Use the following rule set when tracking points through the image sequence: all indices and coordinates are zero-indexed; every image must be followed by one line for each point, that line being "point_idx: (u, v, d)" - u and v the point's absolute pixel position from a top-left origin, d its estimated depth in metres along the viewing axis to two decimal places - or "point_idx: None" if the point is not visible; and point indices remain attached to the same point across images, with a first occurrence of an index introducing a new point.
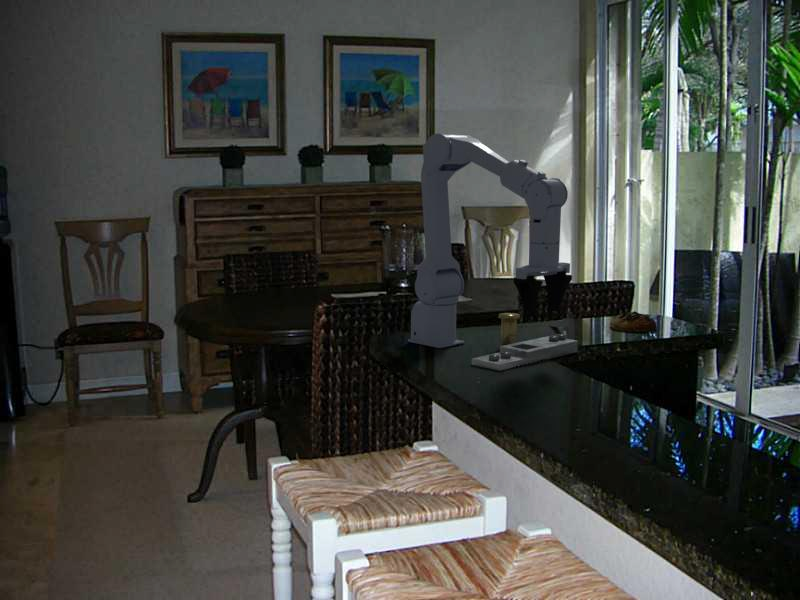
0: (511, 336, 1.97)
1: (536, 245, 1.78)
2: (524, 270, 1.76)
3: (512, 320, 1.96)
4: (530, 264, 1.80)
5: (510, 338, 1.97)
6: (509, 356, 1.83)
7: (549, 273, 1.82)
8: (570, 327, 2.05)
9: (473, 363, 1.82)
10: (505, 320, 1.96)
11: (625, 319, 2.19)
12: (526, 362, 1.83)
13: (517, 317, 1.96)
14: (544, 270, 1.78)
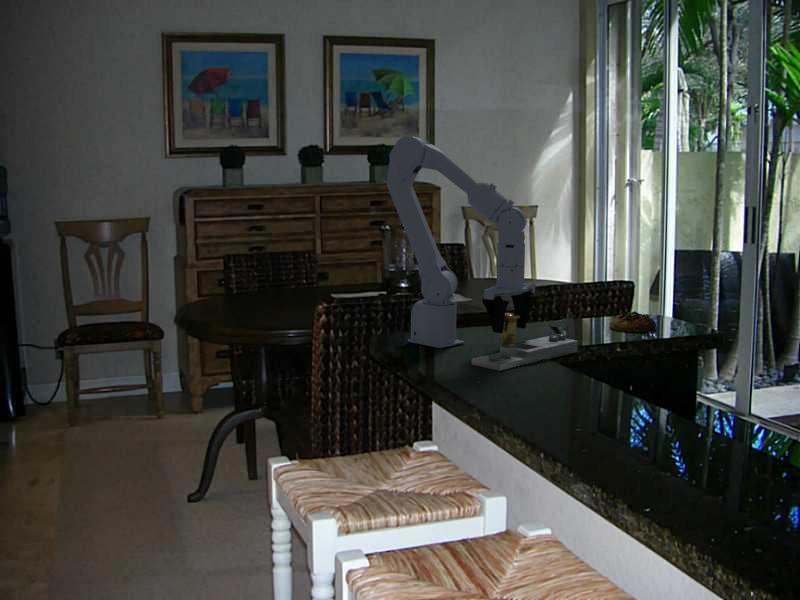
0: (511, 336, 1.97)
1: (503, 268, 1.94)
2: (491, 291, 1.91)
3: (512, 320, 1.96)
4: (497, 285, 1.96)
5: (510, 338, 1.97)
6: (509, 356, 1.83)
7: (515, 293, 1.98)
8: (570, 327, 2.05)
9: (473, 363, 1.82)
10: (505, 320, 1.96)
11: (625, 319, 2.19)
12: (526, 362, 1.83)
13: (517, 317, 1.96)
14: (510, 291, 1.93)
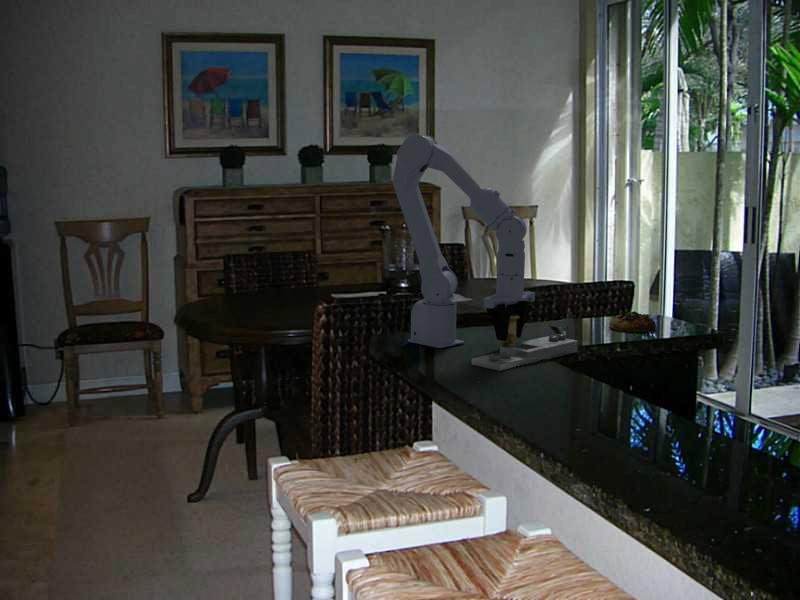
0: (511, 336, 1.97)
1: (502, 277, 1.94)
2: (491, 300, 1.91)
3: (512, 320, 1.96)
4: (497, 294, 1.96)
5: (510, 338, 1.97)
6: (509, 356, 1.83)
7: (515, 302, 1.98)
8: (570, 327, 2.05)
9: (473, 363, 1.82)
10: None
11: (624, 319, 2.19)
12: (526, 362, 1.83)
13: (517, 317, 1.96)
14: (510, 300, 1.94)
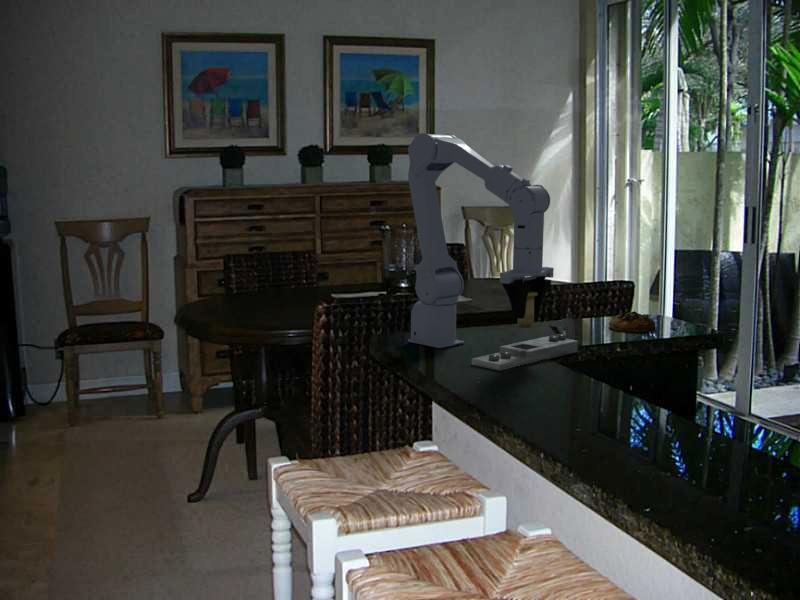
0: (528, 314, 1.85)
1: (520, 250, 1.83)
2: (508, 275, 1.80)
3: (530, 297, 1.85)
4: (514, 269, 1.84)
5: (527, 316, 1.86)
6: (509, 356, 1.83)
7: (533, 277, 1.87)
8: (569, 327, 2.05)
9: (473, 363, 1.82)
10: None
11: (624, 319, 2.19)
12: (526, 362, 1.83)
13: (535, 294, 1.85)
14: (528, 275, 1.82)
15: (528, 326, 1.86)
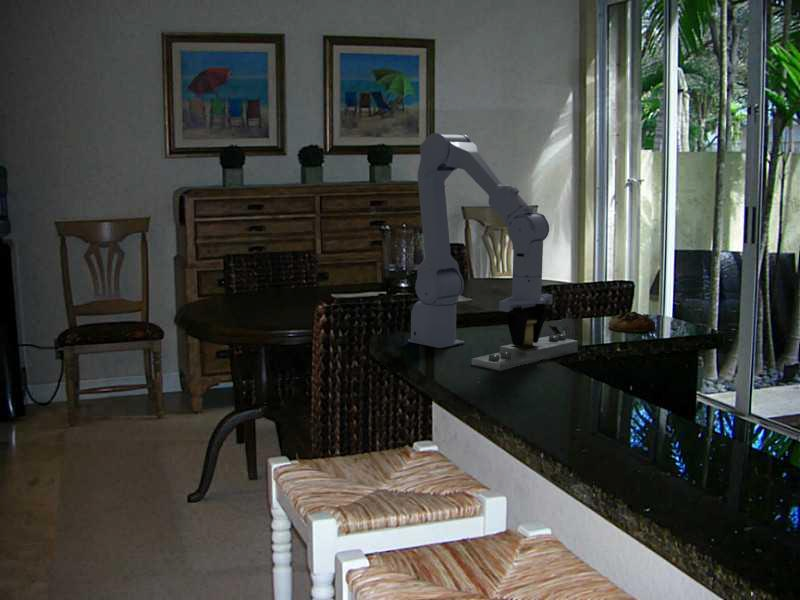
0: (527, 341, 1.86)
1: (519, 278, 1.84)
2: (507, 303, 1.81)
3: (529, 325, 1.86)
4: (513, 296, 1.85)
5: (526, 343, 1.86)
6: (509, 356, 1.83)
7: (532, 305, 1.87)
8: (569, 327, 2.05)
9: (473, 363, 1.82)
10: None
11: (624, 319, 2.19)
12: (526, 362, 1.83)
13: (534, 322, 1.85)
14: (527, 303, 1.83)
15: None
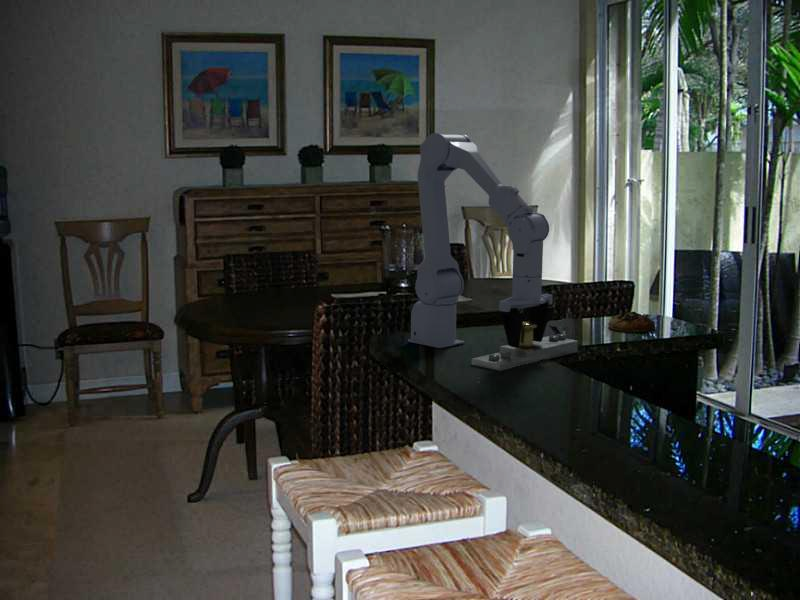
0: (527, 346, 1.87)
1: (519, 278, 1.84)
2: (507, 303, 1.81)
3: (529, 329, 1.86)
4: (513, 296, 1.85)
5: (526, 348, 1.87)
6: (509, 356, 1.83)
7: (532, 305, 1.87)
8: (569, 327, 2.05)
9: (473, 363, 1.82)
10: (521, 329, 1.86)
11: (623, 319, 2.19)
12: (526, 362, 1.83)
13: (534, 326, 1.86)
14: (527, 303, 1.83)
15: None
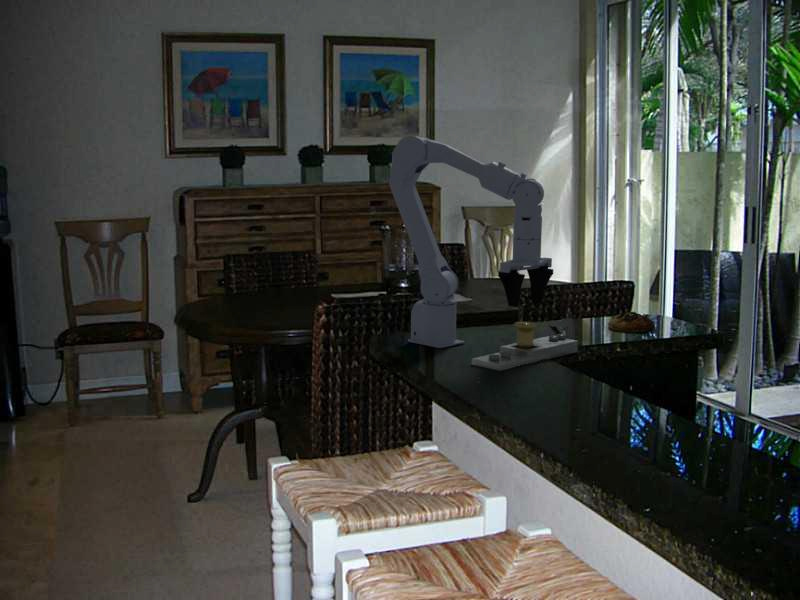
0: (527, 346, 1.87)
1: (519, 241, 1.92)
2: (507, 264, 1.89)
3: (529, 329, 1.86)
4: (514, 259, 1.93)
5: (526, 348, 1.87)
6: (509, 356, 1.83)
7: (532, 267, 1.95)
8: (569, 327, 2.05)
9: (473, 363, 1.82)
10: (521, 329, 1.86)
11: (623, 319, 2.19)
12: (526, 362, 1.83)
13: (534, 326, 1.86)
14: (526, 264, 1.91)
15: None
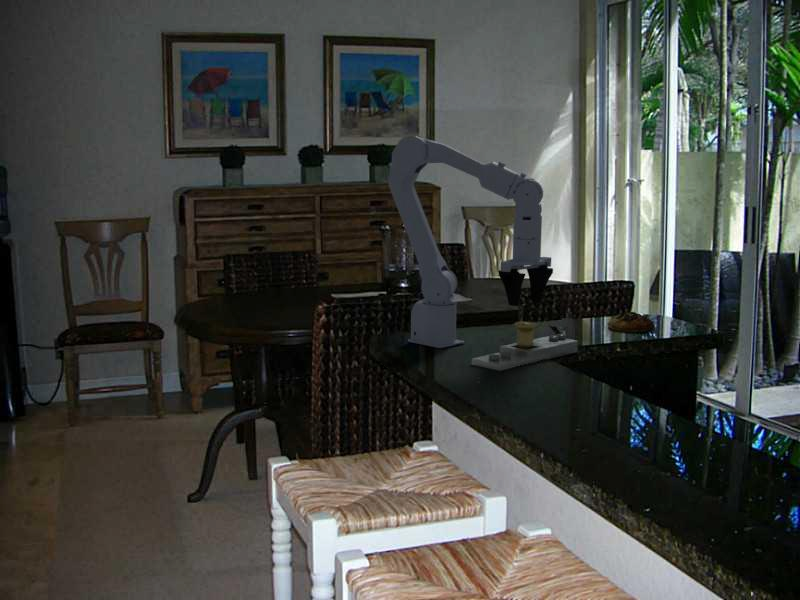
0: (527, 346, 1.87)
1: (519, 240, 1.93)
2: (508, 263, 1.90)
3: (529, 329, 1.86)
4: (514, 258, 1.94)
5: (526, 348, 1.87)
6: (509, 356, 1.83)
7: (531, 266, 1.97)
8: (569, 327, 2.05)
9: (473, 363, 1.82)
10: (521, 329, 1.86)
11: (623, 319, 2.19)
12: (526, 362, 1.83)
13: (534, 326, 1.86)
14: (527, 263, 1.92)
15: None
